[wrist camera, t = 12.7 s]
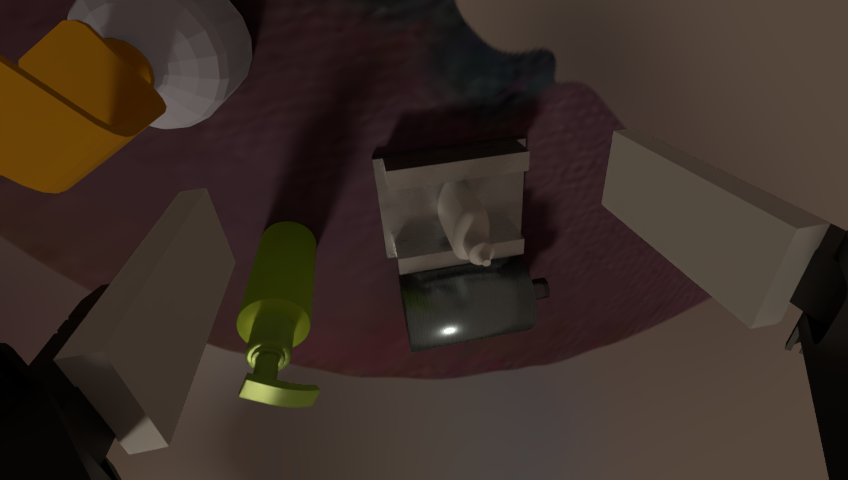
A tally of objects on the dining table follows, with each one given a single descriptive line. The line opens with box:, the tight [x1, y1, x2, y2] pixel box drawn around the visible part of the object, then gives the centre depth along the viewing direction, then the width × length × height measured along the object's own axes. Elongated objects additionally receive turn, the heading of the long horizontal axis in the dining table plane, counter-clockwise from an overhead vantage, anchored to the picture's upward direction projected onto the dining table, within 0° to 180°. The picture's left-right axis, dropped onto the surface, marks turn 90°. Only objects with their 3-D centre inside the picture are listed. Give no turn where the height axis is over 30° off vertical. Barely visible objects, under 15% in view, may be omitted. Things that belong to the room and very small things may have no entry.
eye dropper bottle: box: [437, 180, 495, 266], centre depth 41 cm, size 4×6×12 cm
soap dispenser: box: [237, 221, 321, 407], centre depth 38 cm, size 6×7×20 cm
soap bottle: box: [0, 0, 253, 193], centre depth 24 cm, size 9×9×25 cm
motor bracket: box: [372, 136, 550, 352], centre depth 46 cm, size 22×18×9 cm
